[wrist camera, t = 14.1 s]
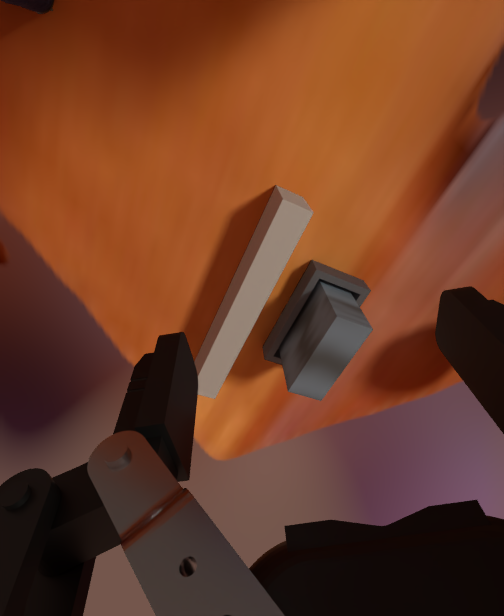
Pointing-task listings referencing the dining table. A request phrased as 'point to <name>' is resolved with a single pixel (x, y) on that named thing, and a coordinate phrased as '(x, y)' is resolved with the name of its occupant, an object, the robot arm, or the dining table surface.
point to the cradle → (299, 299)
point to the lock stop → (322, 340)
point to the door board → (251, 286)
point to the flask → (33, 5)
